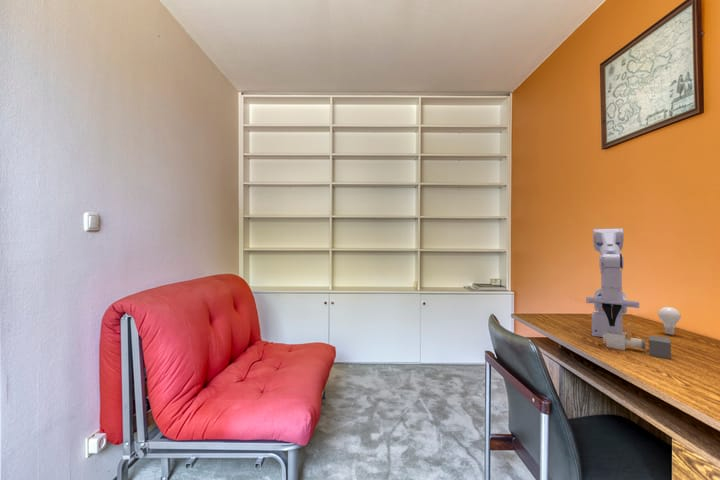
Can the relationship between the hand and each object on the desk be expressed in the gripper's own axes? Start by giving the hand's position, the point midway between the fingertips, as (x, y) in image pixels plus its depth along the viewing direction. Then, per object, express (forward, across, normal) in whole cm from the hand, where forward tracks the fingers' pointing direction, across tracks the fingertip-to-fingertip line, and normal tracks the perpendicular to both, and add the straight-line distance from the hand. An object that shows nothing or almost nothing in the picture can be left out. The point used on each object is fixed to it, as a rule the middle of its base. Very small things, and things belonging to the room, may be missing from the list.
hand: (612, 325), depth 109 cm
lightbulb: (+7, +16, +32) cm, 36 cm away
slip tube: (+6, +3, 0) cm, 7 cm away
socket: (+7, +12, 0) cm, 14 cm away
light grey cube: (+7, +1, 0) cm, 7 cm away
